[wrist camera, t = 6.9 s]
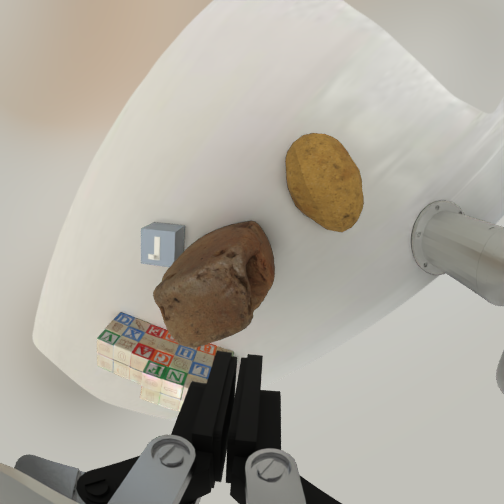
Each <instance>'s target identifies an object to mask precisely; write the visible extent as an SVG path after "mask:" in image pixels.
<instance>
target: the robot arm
mask: <svg viewBox="0 0 504 504" xmlns="http://www.w3.org/2000/svg"><path fill="white" fill-rule="evenodd" d="M412 251H413V255H414V258H415V260H416V262H417V263H418V265H419V266H420V267H421V268H422V269H423V270H425V271H426V272H428V273H430V274H433V275H441V274H445V273H446V274H448V275H450V276H451V277H453V278H454V279H456V280H457V281H459V282H460V283H462V284H463V285H465V286H466V287H468V288H469V289H471V290H472V291H474V292H475V293H477V294H478V295H480V296H481V297H482V298H484V299H485V300H487V301H488V302H490V303H492V304H494V305H498V306H504V227H501V226H498V225H495V224H492V223H489V222H485V221H482V220H479V219H475V218H472V217H469V216H465V214H464V212H463V211H462V210H461V208H460V207H459V206H457V205H456V204H454V203H452V202H449V201H437V202H434V203H432V204H430V205H428V206H427V207H426V208H425V209H424V210H423V211H422V212H421V214H420V215H419V217H418V219H417V220H416V223H415V225H414V229H413V233H412ZM262 357H263V356H260V355H250V354H248V357H247V358H241V364H240V370H239V375H238V381H237V387H236V393H235V383H236V367H237V357H233V356H232V352H224V351H217V352H216V355H215V358H214V361H213V364H212V367H211V371H210V374H209V377H208V380H207V384H206V383H200V382H194V381H192V382H191V384H190V386H189V388H188V391H187V394H186V396H185V399H184V402H183V404H182V407H181V410H180V412H179V415H178V418H177V420H176V423H175V426H174V428H173V431H172V434H171V435H163V436H159V437H156V438H155V439H153V440H152V441H151V442H150V443H149V444H148V445H147V447H146V448H145V450H144V451H143V452H142V454H141V455H140V456H138V457H135V458H131V459H128V460H125V461H122V462H119V463H116V464H112V465H109V466H105V467H102V468H98V469H94V470H91V471H88V472H82V471H80V470H79V469H78V468H74V467H70V466H67V465H63V464H59V463H56V462H53V461H50V460H46V459H43V458H40V457H37V456H34V455H24V456H22V457H20V458H19V459H18V461H17V462H16V465H15V467H14V468H12V467H10V466H7V465H4V464H2V463H0V504H199V502H200V499H201V497H202V496H204V495H206V494H208V493H210V492H211V488H214V485H215V481H219V482H221V480H222V473H223V468H224V463H225V457H226V451H227V465H226V483H231V490H230V491H231V492H230V495H231V496H232V497H233V498H234V499H235V500H236V501H237V502H238V503H239V504H342V503H340V502H338V501H337V500H335V499H334V498H332V497H330V496H329V495H327V494H326V493H324V492H323V491H321V490H320V489H318V488H317V487H315V486H314V485H313V484H311V483H310V482H308V481H307V480H305V479H304V478H303V477H301V476H300V475H299V472H298V468H297V464H296V462H295V460H294V459H293V458H292V457H291V456H290V455H289V454H288V453H286V452H284V451H282V450H281V396H280V391H266V390H260V387H261V373H262ZM496 380H497V383H498V386H499V388H500V390H501V391H502V393H503V394H504V351H503V354H502V356H501V359H500V361H499V364H498V368H497V373H496Z"/></svg>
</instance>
